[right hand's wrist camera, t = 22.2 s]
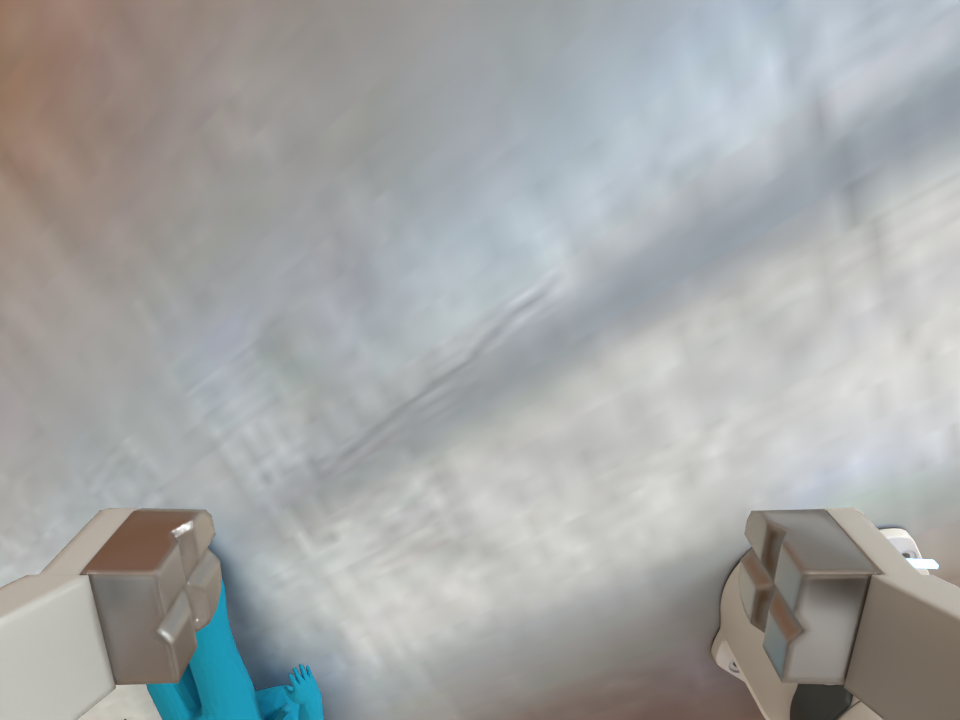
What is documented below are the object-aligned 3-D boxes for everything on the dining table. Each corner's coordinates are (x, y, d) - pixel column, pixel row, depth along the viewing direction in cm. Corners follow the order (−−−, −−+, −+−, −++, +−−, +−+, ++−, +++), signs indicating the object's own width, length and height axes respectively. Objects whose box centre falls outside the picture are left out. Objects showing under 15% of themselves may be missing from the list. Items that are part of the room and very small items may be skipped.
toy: (216, 540, 47) (376, 909, 50) (276, 490, 57) (405, 797, 60) (13, 611, 49) (177, 960, 52) (107, 550, 60) (238, 844, 62)
